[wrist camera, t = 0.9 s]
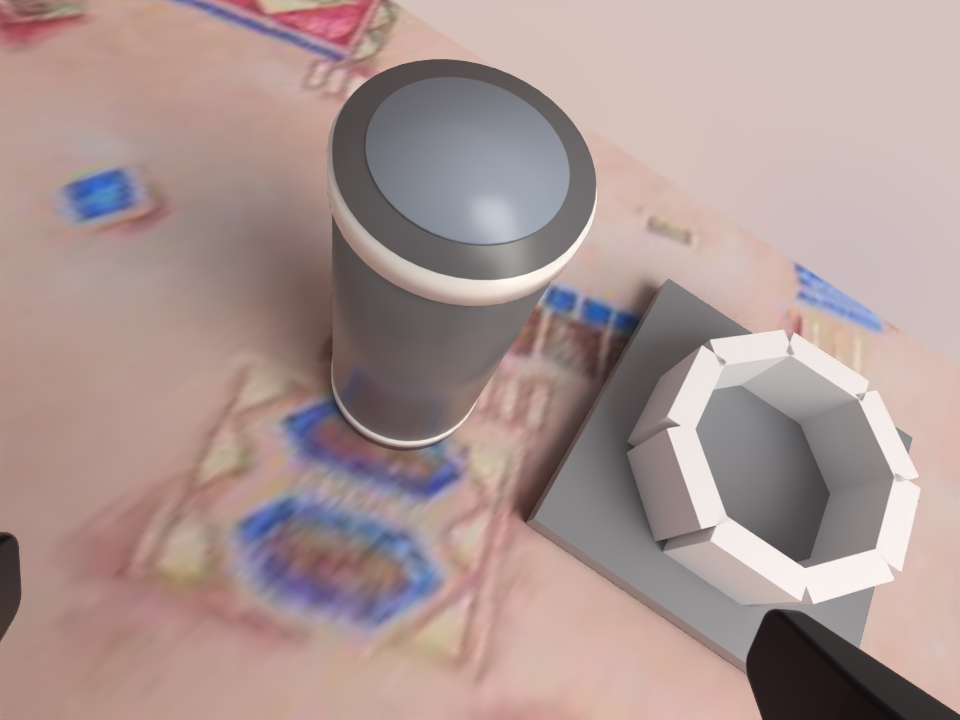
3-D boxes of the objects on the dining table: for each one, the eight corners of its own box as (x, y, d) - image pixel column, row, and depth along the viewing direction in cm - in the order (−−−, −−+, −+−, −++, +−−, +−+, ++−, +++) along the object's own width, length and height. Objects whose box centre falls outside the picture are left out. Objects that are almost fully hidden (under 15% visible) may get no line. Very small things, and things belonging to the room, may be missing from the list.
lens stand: (892, 444, 26) (980, 415, 23) (817, 722, 21) (918, 741, 17) (657, 290, 27) (707, 238, 23) (525, 523, 21) (564, 502, 18)
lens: (503, 409, 23) (654, 214, 12) (376, 481, 21) (423, 323, 10) (429, 296, 24) (507, 27, 13) (303, 353, 22) (274, 91, 11)
